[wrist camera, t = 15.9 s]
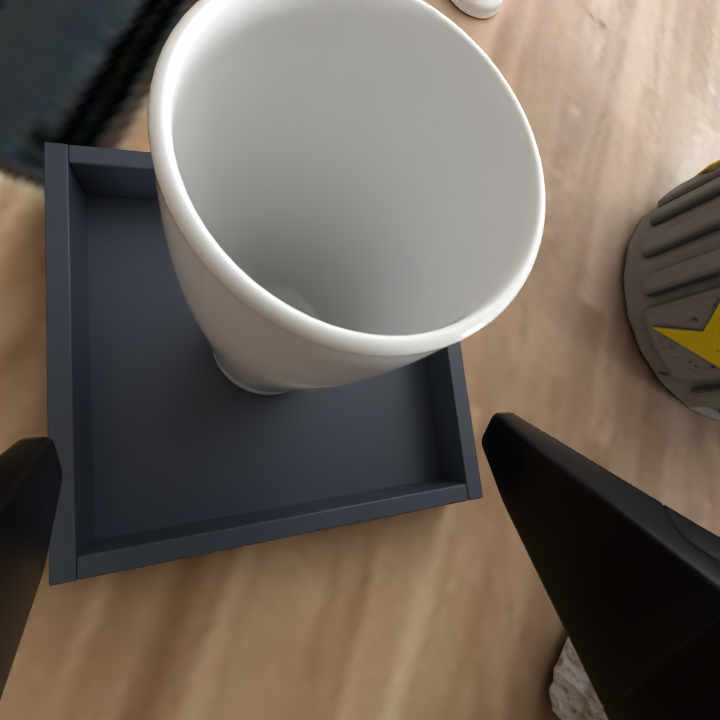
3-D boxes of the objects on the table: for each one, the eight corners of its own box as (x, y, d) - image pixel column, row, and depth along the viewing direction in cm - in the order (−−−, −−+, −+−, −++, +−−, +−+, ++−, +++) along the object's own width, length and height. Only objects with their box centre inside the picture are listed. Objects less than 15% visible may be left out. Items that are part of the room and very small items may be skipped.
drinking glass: (185, 406, 19) (96, 326, 5) (203, 265, 20) (174, -120, 6) (330, 416, 21) (562, 380, 7) (338, 287, 22) (547, 39, 8)
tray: (411, 207, 25) (436, 178, 22) (450, 489, 23) (483, 497, 20) (68, 183, 19) (43, 141, 16) (76, 561, 17) (48, 586, 14)
